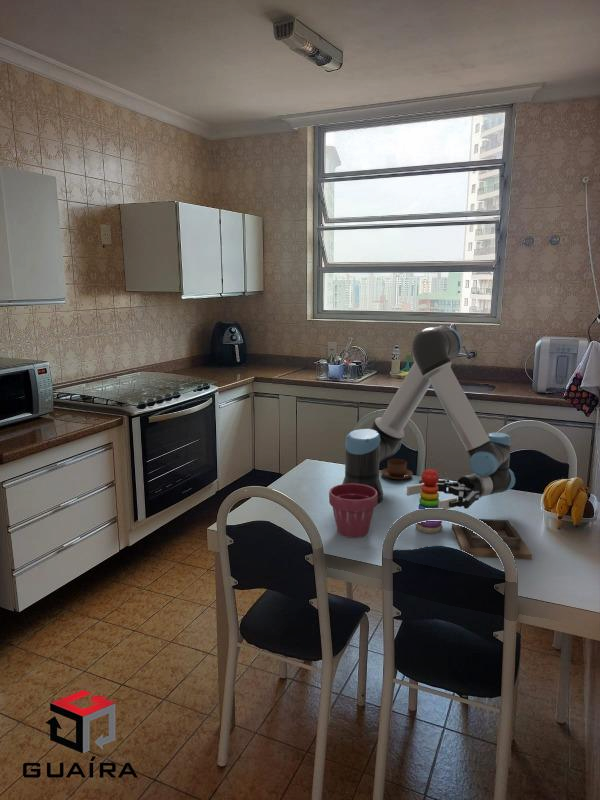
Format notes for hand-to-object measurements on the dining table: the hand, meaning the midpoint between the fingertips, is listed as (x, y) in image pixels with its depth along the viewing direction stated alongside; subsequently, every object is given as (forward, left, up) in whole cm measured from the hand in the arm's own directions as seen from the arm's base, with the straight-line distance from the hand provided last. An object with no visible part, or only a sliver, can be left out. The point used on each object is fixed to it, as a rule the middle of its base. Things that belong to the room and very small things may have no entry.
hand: (422, 498), depth 164 cm
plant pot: (-21, -2, -11) cm, 23 cm away
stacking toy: (+2, +2, -11) cm, 11 cm away
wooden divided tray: (+18, -6, -11) cm, 22 cm away
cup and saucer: (-3, +51, -11) cm, 52 cm away
